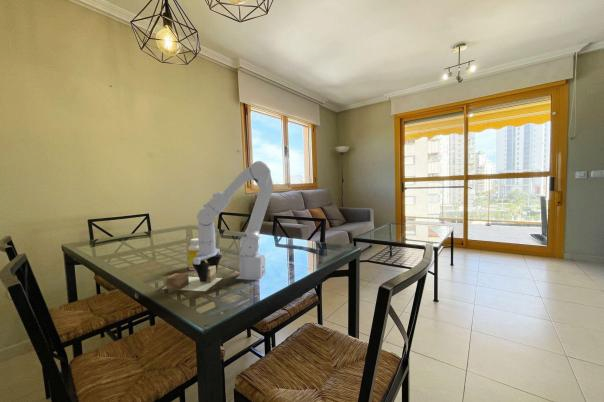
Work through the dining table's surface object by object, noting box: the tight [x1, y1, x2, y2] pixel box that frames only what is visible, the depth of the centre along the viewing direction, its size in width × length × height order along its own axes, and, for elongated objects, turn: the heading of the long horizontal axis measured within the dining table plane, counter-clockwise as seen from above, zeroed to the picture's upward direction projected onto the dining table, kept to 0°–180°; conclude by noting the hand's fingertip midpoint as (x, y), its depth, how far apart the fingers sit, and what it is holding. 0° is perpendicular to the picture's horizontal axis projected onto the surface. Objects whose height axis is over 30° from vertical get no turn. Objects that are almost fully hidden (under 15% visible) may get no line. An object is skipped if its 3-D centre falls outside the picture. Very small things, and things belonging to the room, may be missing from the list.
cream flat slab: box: [161, 276, 223, 292], centre depth 89 cm, size 16×12×1 cm
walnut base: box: [165, 272, 190, 290], centre depth 86 cm, size 5×5×4 cm
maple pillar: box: [201, 265, 217, 283], centre depth 91 cm, size 4×4×5 cm
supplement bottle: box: [187, 237, 207, 271], centre depth 107 cm, size 7×7×13 cm
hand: (208, 278), depth 91 cm, fingers open, 6 cm apart
